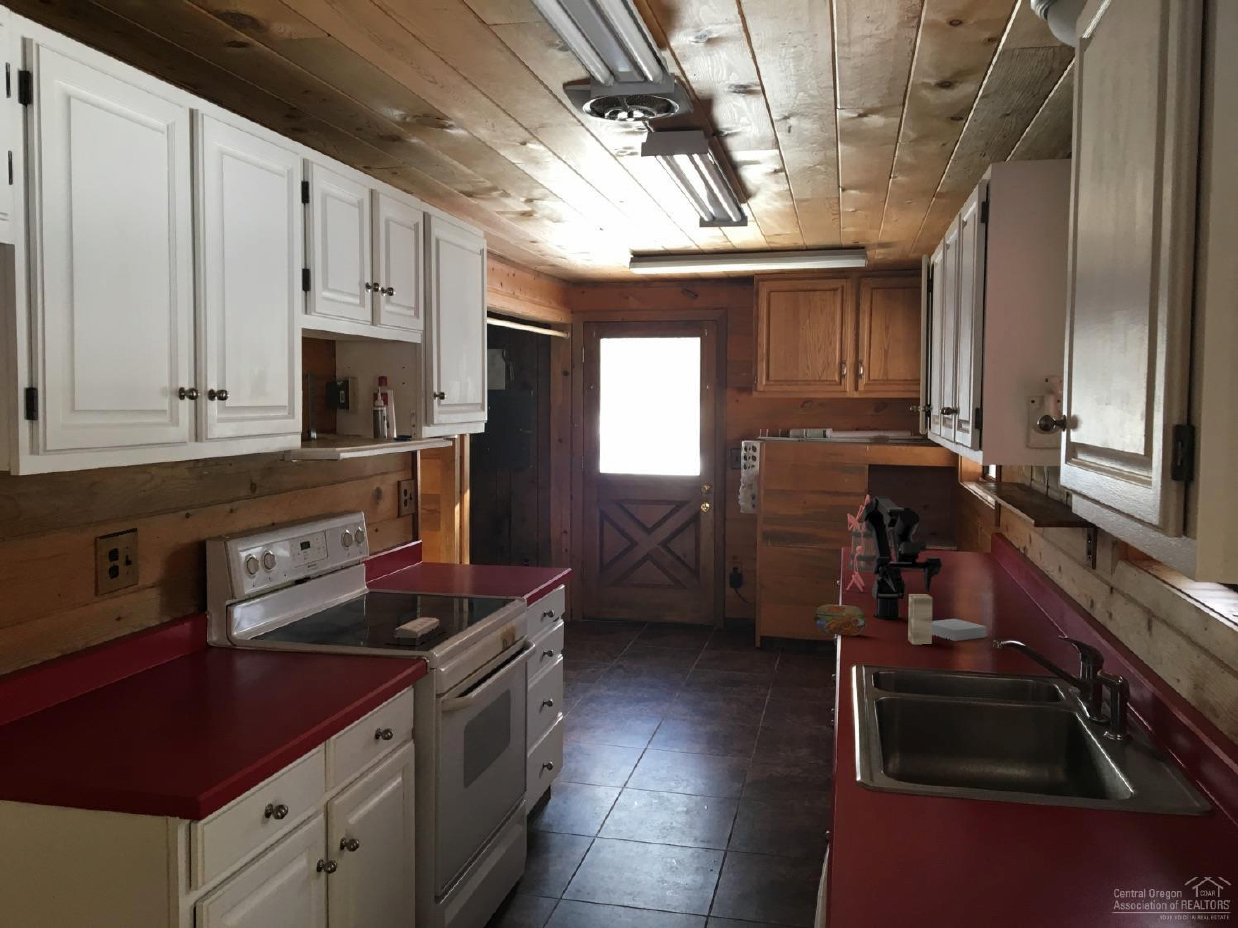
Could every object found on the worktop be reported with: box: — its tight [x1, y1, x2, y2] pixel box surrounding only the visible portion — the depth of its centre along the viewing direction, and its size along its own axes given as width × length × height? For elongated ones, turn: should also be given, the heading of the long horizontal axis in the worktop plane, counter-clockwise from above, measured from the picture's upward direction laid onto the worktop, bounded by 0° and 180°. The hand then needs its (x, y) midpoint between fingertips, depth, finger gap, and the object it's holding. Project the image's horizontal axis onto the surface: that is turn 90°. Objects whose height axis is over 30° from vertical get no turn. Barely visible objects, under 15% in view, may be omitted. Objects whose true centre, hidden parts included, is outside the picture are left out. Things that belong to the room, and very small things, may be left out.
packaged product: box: [394, 616, 440, 638], centre depth 265 cm, size 18×5×10 cm
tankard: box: [846, 520, 895, 571], centre depth 392 cm, size 24×17×20 cm
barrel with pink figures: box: [841, 494, 871, 594], centre depth 343 cm, size 15×26×35 cm, turn 160°
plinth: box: [932, 618, 988, 642], centre depth 272 cm, size 12×12×3 cm
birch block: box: [907, 593, 933, 645], centre depth 262 cm, size 5×5×13 cm
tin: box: [813, 604, 868, 637], centre depth 273 cm, size 15×3×8 cm, turn 62°
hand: (911, 591), depth 269 cm, fingers open, 9 cm apart
